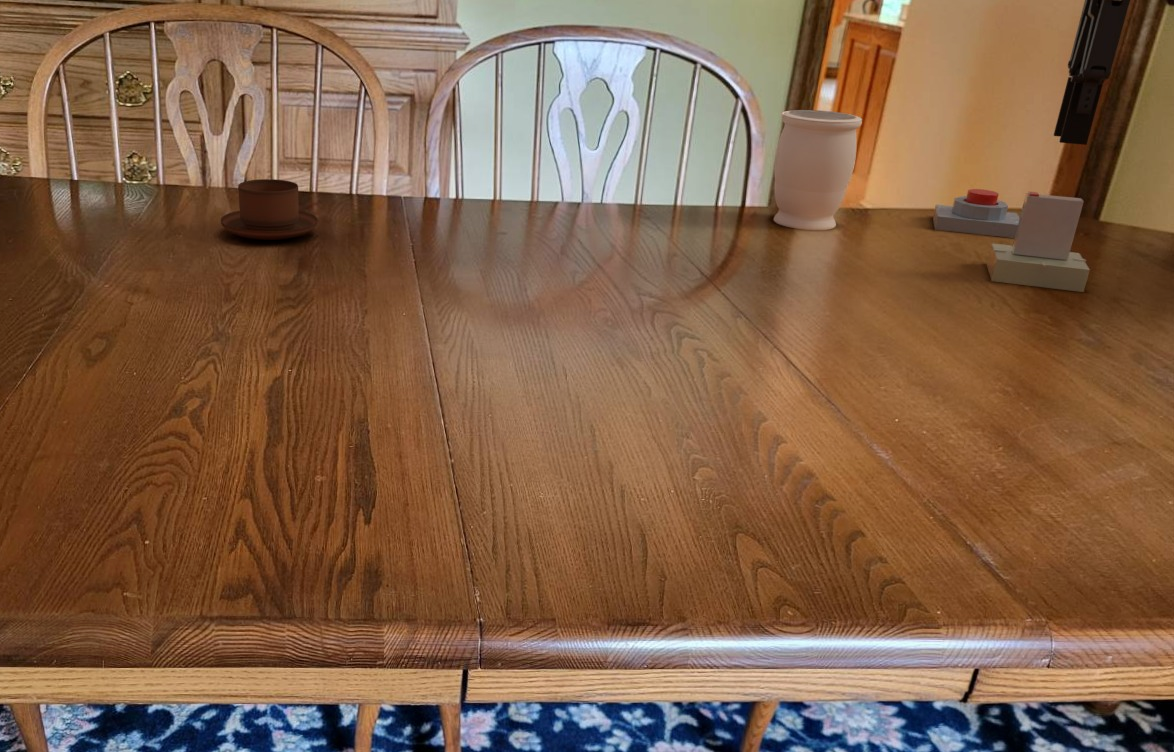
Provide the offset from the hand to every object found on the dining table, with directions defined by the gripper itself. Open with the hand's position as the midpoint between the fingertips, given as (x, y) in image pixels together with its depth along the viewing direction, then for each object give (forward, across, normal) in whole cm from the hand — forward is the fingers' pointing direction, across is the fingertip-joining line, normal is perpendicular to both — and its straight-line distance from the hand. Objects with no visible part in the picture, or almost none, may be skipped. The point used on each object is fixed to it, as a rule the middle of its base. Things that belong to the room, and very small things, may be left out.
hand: (1069, 139), depth 126 cm
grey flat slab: (+14, 0, 0) cm, 14 cm away
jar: (+17, -16, -28) cm, 36 cm away
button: (+13, -25, -5) cm, 29 cm away
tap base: (+17, 0, 0) cm, 17 cm away
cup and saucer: (+17, +23, -91) cm, 95 cm away
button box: (+17, -25, -5) cm, 30 cm away
